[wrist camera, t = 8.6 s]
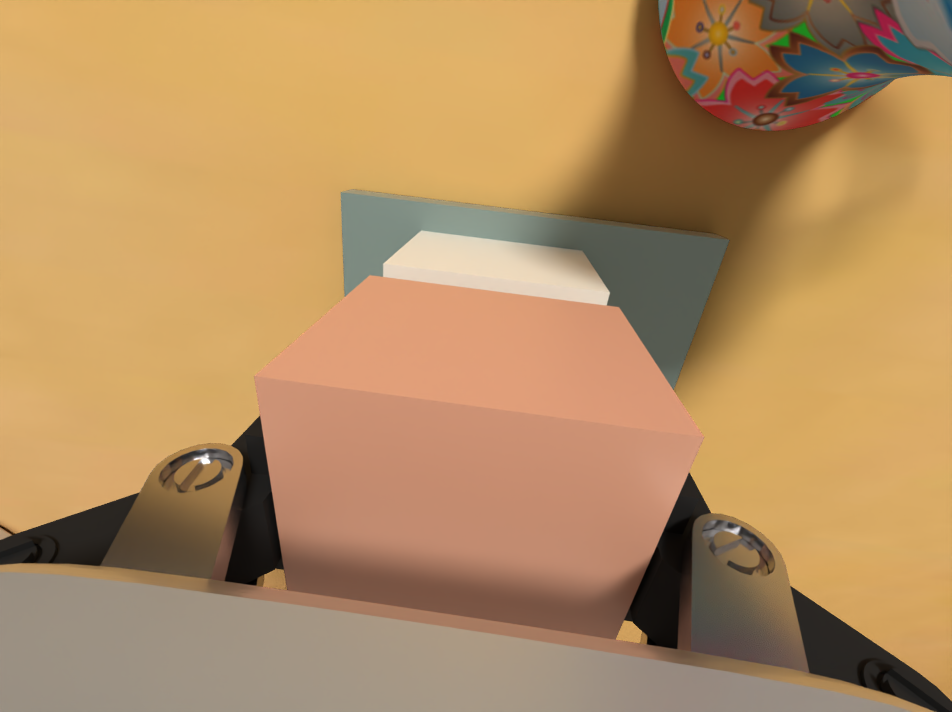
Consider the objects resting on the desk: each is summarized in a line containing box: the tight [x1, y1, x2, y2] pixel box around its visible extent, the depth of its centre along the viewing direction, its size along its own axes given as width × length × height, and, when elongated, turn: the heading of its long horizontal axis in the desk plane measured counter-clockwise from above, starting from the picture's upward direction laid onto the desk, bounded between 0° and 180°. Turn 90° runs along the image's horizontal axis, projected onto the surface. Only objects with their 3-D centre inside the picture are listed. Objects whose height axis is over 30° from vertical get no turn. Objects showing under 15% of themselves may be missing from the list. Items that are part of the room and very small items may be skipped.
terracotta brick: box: [254, 275, 704, 640], centre depth 9 cm, size 6×6×5 cm
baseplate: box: [341, 189, 730, 390], centre depth 16 cm, size 16×14×7 cm
